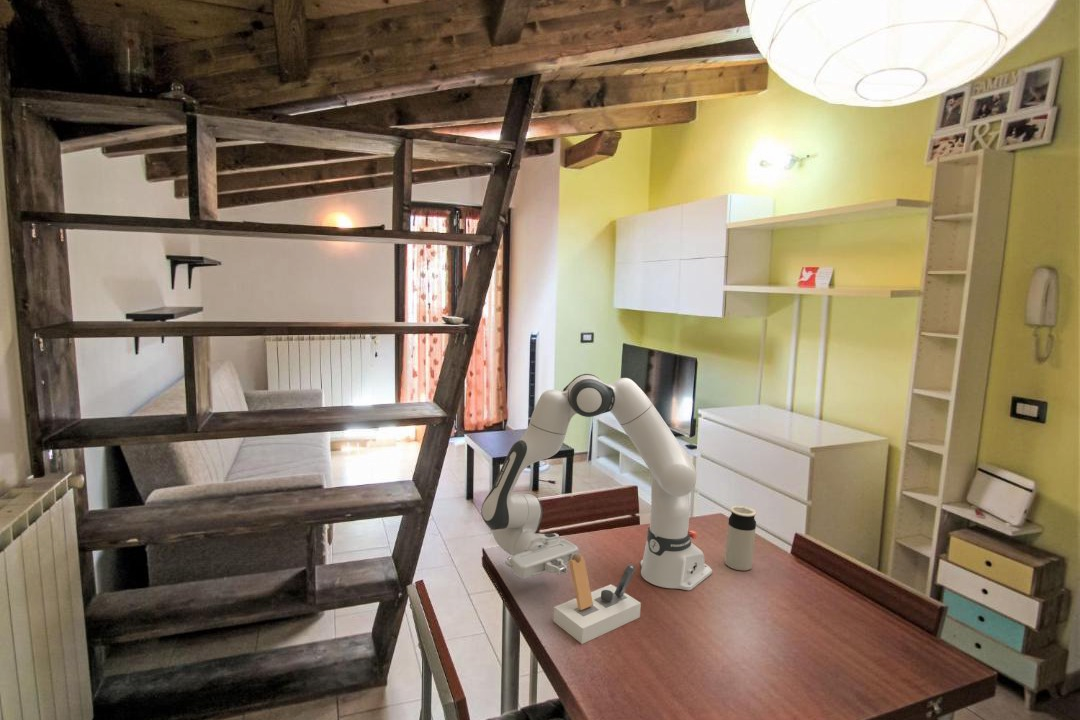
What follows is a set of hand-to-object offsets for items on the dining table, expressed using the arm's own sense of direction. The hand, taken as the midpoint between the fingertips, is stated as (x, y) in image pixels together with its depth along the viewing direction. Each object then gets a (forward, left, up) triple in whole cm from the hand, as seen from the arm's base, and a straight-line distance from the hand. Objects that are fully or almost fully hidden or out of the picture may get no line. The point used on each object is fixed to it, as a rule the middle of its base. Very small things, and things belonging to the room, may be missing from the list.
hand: (563, 571), depth 153 cm
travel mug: (-61, +13, -10) cm, 63 cm away
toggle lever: (-11, +10, -6) cm, 16 cm away
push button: (-7, +10, -6) cm, 13 cm away
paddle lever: (0, +10, -6) cm, 11 cm away
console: (-4, +10, -10) cm, 14 cm away
